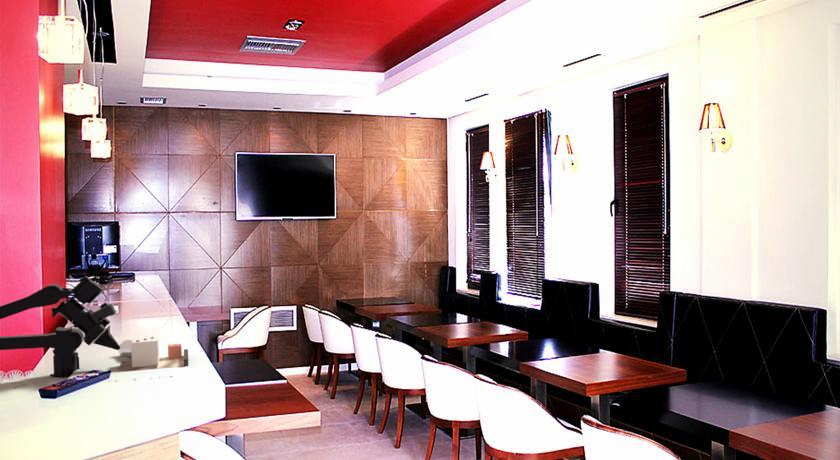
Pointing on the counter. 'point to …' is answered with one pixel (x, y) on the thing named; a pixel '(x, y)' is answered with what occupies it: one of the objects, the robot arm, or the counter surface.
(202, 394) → the counter surface
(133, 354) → the ivory die
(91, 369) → the counter surface
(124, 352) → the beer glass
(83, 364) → the counter surface
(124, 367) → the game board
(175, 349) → the terracotta die
